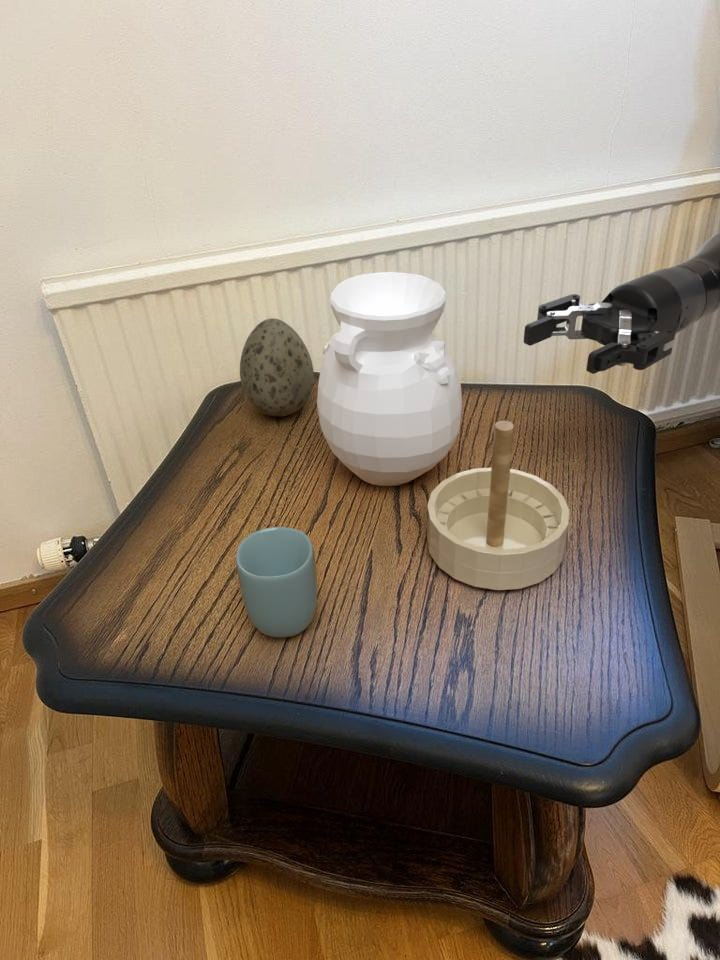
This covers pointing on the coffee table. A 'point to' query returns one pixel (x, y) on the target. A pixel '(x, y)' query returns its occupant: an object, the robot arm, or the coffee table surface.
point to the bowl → (527, 537)
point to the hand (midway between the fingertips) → (557, 349)
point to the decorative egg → (276, 369)
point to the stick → (499, 482)
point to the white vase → (388, 379)
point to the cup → (278, 580)
